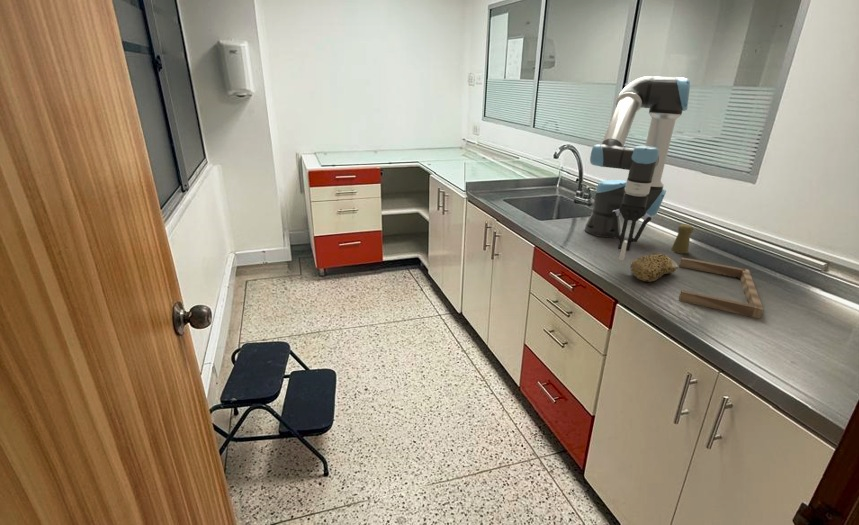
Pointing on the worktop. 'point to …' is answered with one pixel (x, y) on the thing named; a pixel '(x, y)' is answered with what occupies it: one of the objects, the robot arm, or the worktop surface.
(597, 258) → the worktop surface
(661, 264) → the sponge
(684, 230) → the olive waisted cylinder
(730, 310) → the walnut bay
